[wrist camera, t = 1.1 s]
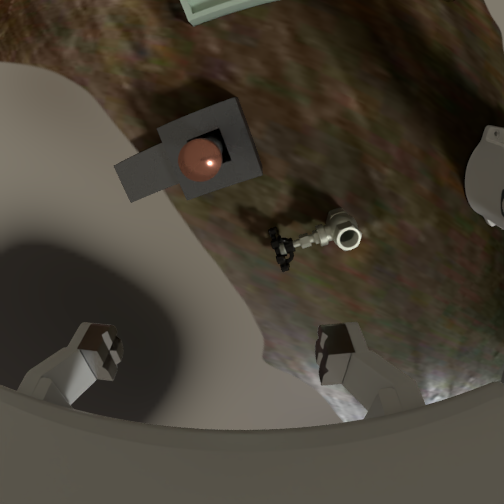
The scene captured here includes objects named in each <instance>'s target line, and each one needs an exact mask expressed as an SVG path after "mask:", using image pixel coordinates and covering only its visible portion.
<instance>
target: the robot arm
mask: <svg viewBox="0 0 504 504" xmlns="http://www.w3.org/2000/svg"><path fill="white" fill-rule="evenodd" d="M494 133H495V134H494ZM465 191H466V196H467V199H468V202H469V204H470V206H471V207H472V209H473V210H474V211H476V212H477V213H479V214H480V215H482V216H483V217H484V219H485V221H486V222H487V224H488V225H490V226H495V225H497V226H499V227H500V228H502V229H504V128H503V127H497V126H491V125H488V126H486V128H485V130H484V132H483V136H482V139H481V141H480V143H479V144H478V146H477V147H476V148H475V150H474V151H473V153H472V155H471V157H470V159H469V162H468V165H467V168H466V174H465ZM317 333H318V339H317V340H316V344H315V357H316V363H317V364H318V365H319V366H320V367H319V377H320V382H321V385H333V384H342V385H343V386H344V387H345V388H346V389H347V390H348V391H349V392H350V393H351V394H352V395H353V396H354V397H355V398H356V399H357V400H358V401H359V402H360V403H361V404H362V405H363V406H364V407H365V408H366V409H367V410H368V412H367V414H366V416H365V418H364V419H363V420H357V421H351V422H345V423H338V424H331V425H322V426H312V427H302V428H289V429H270V430H212V429H194V428H181V427H171V426H161V425H153V424H146V423H139V422H132V421H127V420H121V419H115V418H110V417H105V416H100V415H96V414H91V413H87V412H82V411H79V410H74V409H73V408H72V407H71V406H70V405H71V404H72V403H73V402H74V401H75V400H76V399H77V398H78V397H79V396H80V395H81V394H82V393H83V392H84V391H85V390H86V389H87V388H88V387H89V386H90V385H92V384H93V383H94V382H95V381H96V379H102V380H111V381H113V380H114V378H115V375H116V372H117V370H118V368H117V366H116V364H118V363H119V362H120V361H121V359H122V356H123V344H122V342H121V340H120V339H119V338H118V337H117V336H116V334H117V330H116V328H115V326H113V325H107V324H97V323H86V322H83V323H81V325H80V326H79V328H78V330H77V331H76V333H75V335H74V336H73V338H72V340H71V342H70V343H69V345H68V347H67V348H66V347H64V348H63V349H61V350H59V351H58V352H56V353H55V354H53V355H52V356H51V357H49V358H47V359H46V360H44V361H43V362H41V363H40V364H39V365H37V366H35V367H34V368H32V369H31V370H30V371H28V372H27V374H26V375H25V377H24V379H23V381H22V383H21V384H20V386H19V388H18V390H17V391H14V390H12V389H9V388H7V387H4V386H2V385H0V504H504V384H502V383H501V382H492V383H489V384H487V385H484V386H481V387H479V388H476V389H474V390H471V391H468V392H466V393H463V394H460V395H457V396H454V397H451V398H448V399H445V400H442V401H438V402H435V403H432V404H428V405H425V402H424V400H423V398H422V395H421V393H420V390H419V388H418V386H417V384H416V381H415V380H413V379H412V378H410V377H409V376H407V375H406V374H405V373H403V372H402V371H400V370H399V369H398V368H396V367H395V366H393V365H392V364H391V363H389V362H388V361H386V360H385V359H384V358H382V357H381V356H379V355H378V354H377V353H375V352H374V351H369V349H368V347H367V344H366V342H365V339H364V337H363V334H362V332H361V329H360V327H359V324H358V323H357V322H349V323H339V324H327V325H319V327H318V331H317Z"/></svg>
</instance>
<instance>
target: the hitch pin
mask: <svg viewBox="0 0 504 504" xmlns="http://www.w3.org/2000/svg"><path fill="white" fill-rule="evenodd" d="M225 147H226V144H225V142H224V139H223V136H222V135H220V134H218V133H212V134H210V135H208V136H207V137H205V138H197V139H193V140H191V141H190V142H188V143H187V144H185V145H184V146H183V147H182V149H181V150H180V153H179V156H178V165H179V168H180V170H181V172H182V173H183V174H184V175H185V176H186V177H187V178H188V179H190V180H193V181H197V182H203V181H207V180H210V179H211V178H213V177H214V176H215V175H216V174H217V173H218V171H219V169H220V167H221V165H222V152H223V151H224V149H225Z"/></svg>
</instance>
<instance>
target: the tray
mask: <svg viewBox="0 0 504 504" xmlns="http://www.w3.org/2000/svg"><path fill="white" fill-rule="evenodd" d="M274 1H278V0H180V2H181V4H182V7H183V9H184V12H185V14H186V17H187V19H188V21H189V22H190V23H191V24H192V25H193V26H196V25H199V24H201V23H204V22H207V21H209V20H212V19H215V18H218V17H221V16H224V15H227V14H230V13H233V12H236V11H240V10H243V9H246V8H250V7H254V6H257V5H261V4H265V3H269V2H274Z"/></svg>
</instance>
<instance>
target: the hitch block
mask: <svg viewBox="0 0 504 504" xmlns="http://www.w3.org/2000/svg"><path fill="white" fill-rule="evenodd" d="M218 128H220V131H221V134H222V136H223V139H224V142H225V144H226V147H227V150H228V152H229V155H227V156H224V157H222V165H221V167H220V169H219V171H218V173H217V174H216V175H215V176H214V177H213V178H211V179H210V180H207V181H203V182H197V181H193V180H190V179H188V178H187V177H186V176H185V175H184V174H183V173H182V172H181V170H180V168H179V165H178V156H179V153H180V150H181V149H182V147H183V146H184V145H185V144H187V143H188V142H190V141H191V140H193V139H196V137H197V136H200V135H202V134H205V133H207V132H210V131H213V130H216V129H218ZM157 131H158V133H159V136H160V138H161V141H162V143H159V144H157V145H155V146H153V147H151V148H148V149H146V150H144V151H142V152H140V153H138V154H136V155H134V156H132V157H130V158H128V159H126V160H124V161H122V162H120V163H118V164H116V165H114V168H115V170H116V172H117V174H118V176H119V178H120V181H121V183H122V185H123V187H124V189H125V191H126V194H127V196H128V198H129V200H130V202H131V203H132V202H134V201H136V200H139V199H141V198H143V197H146V196H148V195H151V194H153V193H155V192H158V191H160V190H163V189H165V188H168V187H170V186H173V185H176V184H178V183H180V185H181V188H182V190H183V192H184V195H185V197H186V199H187V200H190V199H192V198H195V197H198V196H201V195H204V194H207V193H209V192H212V191H215V190H218V189H221V188H224V187H227V186H230V185H233V184H236V183H239V182H242V181H245V180H248V179H252V178H255V177H258V176H261V175H263V171H262V163H261V161H260V158H259V155H258V152H257V149H256V146H255V143H254V141H253V138H252V135H251V132H250V129H249V127H248V124H247V121H246V118H245V116H244V113H243V110H242V107H241V105H240V102H239V99H238V97H234V98H231V99H228V100H225V101H222V102H220V103H217V104H214V105H212V106H209V107H206V108H204V109H201V110H199V111H196V112H194V113H191V114H189V115H186V116H184V117H181V118H179V119H177V120H174V121H172V122H170V123H168V124H165V125H163V126H161V127H159V128H157Z"/></svg>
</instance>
